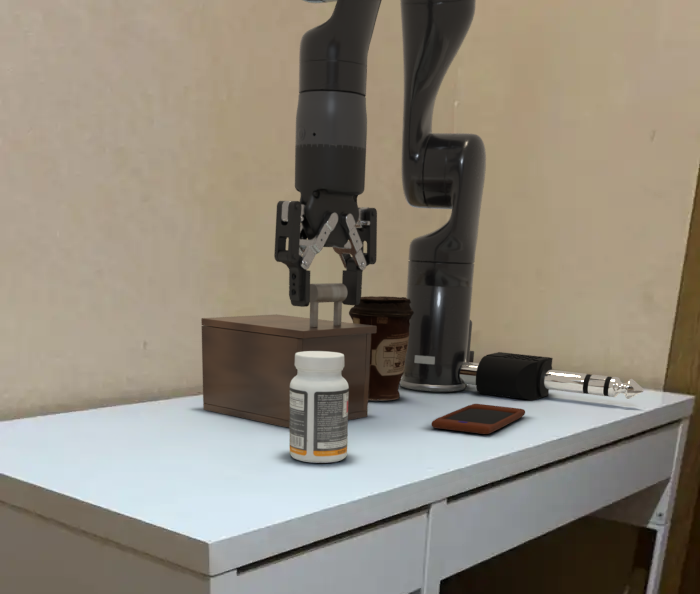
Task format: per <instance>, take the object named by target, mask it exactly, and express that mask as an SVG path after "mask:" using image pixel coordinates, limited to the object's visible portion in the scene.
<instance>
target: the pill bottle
mask: <svg viewBox="0 0 700 594" xmlns="http://www.w3.org/2000/svg"><path fill="white" fill-rule="evenodd" d="M295 366H296V369H297V370H298V373H297V375H296V376H295V377H294V378H293V379H292V380H291V383H290V428H289V438H288V439H289V440H288V441H289V455H290V456H291V458H292V459H294V460H297V461H299V462H304V463H312V464H329V463H337V462H339V461H342V460H344V459H346V457H347V455H348V435H349V433H348V432H349V431H348V428H349V427H348V426H349V420H348V394H349V386H348V383H347V381H346V380H345V379H344V378H343V377H342V375H341V371H342V370H343V368H344V354H342V353H337V352H327V351H304V352H297V353H296V354H295Z"/></svg>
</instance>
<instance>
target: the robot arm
mask: <svg viewBox="0 0 700 594" xmlns="http://www.w3.org/2000/svg"><path fill="white" fill-rule="evenodd" d="M302 1H303V2H305V3H308V4H309V3H310V4H327V3H334V2H335V6H334V9H333V11H332V14H331V15H330V17H329V18H328V19H327V20H326V21H324V22H323V23H321V24H318V25H316V26H314V27H312V28H310V29H308V30H307V31H306V32H304V33H303V35H302V36H301V39H300V43H299V53H298V54H299V57H298V101H297V107H296V115H295V142H294V143H295V146H294V148H295V149H294V189H295V190H296V191H297V192H298V193H300V194H299V195H300V197H299V200H278V202H277V204H276V215H275V235H274V236H275V237H274V255H273V256H274V260H275V261H276V262H277V263H282V264H284V265H286V268H288V285H289V286H288V297H289V300H290V304H291V306H292V307H301V308H305V307H310V284H311V270H308V269H310V267H311V265H312V263H313V261H314V259H315V257H316V255H317V254H320V253H321V252H322V250H323V248H332V250H333V252H334V253H336V254H337V255H338V256H339V258H340V260H341V263H342V265H343V267H344V269H345V270H344V269H343V270H342V279H341V283H342V284H344V285H345V286H346V288H347V297H346V299H345V300H344V301H342V305H345V306H355V305H358V304H359V303H360V298H361V297H362V289H363V288H362V286H363V272H364V270H365V269H366V268H367V267H368V266H369V265H375V264H376V263H377V253H378V250H377V249H378V248H377V246H378V239H377V238H378V235H377V234H378V210H377V209H376V207H369V206H366V207H365V206H364V207H363V206H361V207H359V205H358V197H359V196H360V195H362V194H363V193H364V192H365V187H366V163H367V161H366V159H367V158H366V157H367V140H368V139H367V138H368V137H367V136H368V114H367V113H368V111H367V98H366V96H367V79H368V78H367V77H368V55H369V50H370V45H371V42H372V39H373V34H374V30H375V27H376V22H377V18H378V15H379V11H380V8H381V4H382V0H302ZM399 1H400V19H401V36H402V37H401V39H402V40H401V41H402V60H403V61H402V62H403V103H402V105H403V107H402V132H401V133H402V136H401V137H402V138H401V184H402V185H401V186H402V191H403V196H404V198H405V199H404V200H406V202H407V204H408V205H409V206H410V207H412V208H416V209H430V210H431V209H432V210H451V211H450V216H449V218H448V220H447V221H446V222H445V223H444V224H443V225H441V226H440V227H439V228H438V229H435V230H433V231H431V232H428V233H426V234H423V235H419V236H417V237H415V238H413V239H412V240H411V241H410V243H409V248H408V261H407V262H408V263H407V278H406V281H407V282H406V298H407V299H410V301H411V303H410V307H411V309H412V310H413V312H414V314H413V315H412V317H411V319H410V320H409V323H410V326H409V339H408V347H407V353H406V358H405V365H404V372H403V375H402V378H401V381H400V387H402V388H404V389H408V390H413V391H419V392H420V391H421V392H434V393H435V392H436V393H451V392H452V393H453V392H459V391H460V392H461V391H463V390H465V388H467V387H468V384H462V383H461V382H460V378H459V374H460V369H461V366H462V364H463V363H464V362H472V363H474V359H475V351H474V350H471V342H472V329H473V321H472V320H471V310H472V299H473V285H474V272H475V262H476V250H477V243H478V237H479V225H480V217H481V209H482V201H483V194H484V187H485V181H486V180H485V179H486V170H487V169H486V168H487V154H486V153H487V152H486V147H485V142H484V141H483V138H482V137H481V136H480V135H478V134H476V133H464V132H463V133H461V132H460V133H459V132H456V133H453V132H452V133H451V132H449V133H447V132H446V133H445V132H444V133H442V132H441V133H439V132H433V115H434V109H435V104H436V101H437V96H438V93H439V91H440V88H441V86H442V83H443V81H444V79H445V77H446V75H447V73H448V70H449V69H450V67H451V65H452V62H454V59H455V58H456V56H457V54H458V52H459V50H460V48H461V47H462V45H463V43H464V41H465V40H466V37H467V35H468V33H469V31H470V29H471V27H472V23H473V21H474V17H475V13H476V1H477V0H399ZM287 239H288V240H287ZM287 241H288V243H287ZM364 242H366V252H364V250H365V249H364V246H365V245H364V244H365V243H364Z"/></svg>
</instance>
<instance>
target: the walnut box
mask: <svg viewBox="0 0 700 594" xmlns="http://www.w3.org/2000/svg"><path fill="white" fill-rule="evenodd" d="M370 345H371V333H370V334H357V335H344V336H331V337H319V338H306V339H301V338H294V337H286V336H279V335H271V334H264V333H256V332H249V331H241V330H234V329H226V328H219V327H211V326H204V325H201V362H202V363H201V364H202V365H201V366H202V406H203V407H202V409H203V411H207V412H213V413H218V414H222V415H228V416H231V417H237V418H241V419H245V420H246V419H247V420H251V421H254V422H260V423H265V424H268V425H269V424H270V425H275V426H278V427H283V428H288V429H290V383H291V380H292V379H293V378H294V377H295V376H296V375H297V373H298V370H297V369H296V366H295V354H296V353H297V352H304V351H327V352H337V353H342V354H344V368H343V370H342V371H341V375H342V377H343V378H344V379H345V380H346V381H347V383H348V386H349V394H348V421H350V420H351V421H352V420H356V419H362V418H367V417H368V410H369V409H368V408H369V400H368V390H369V367H370Z"/></svg>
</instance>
